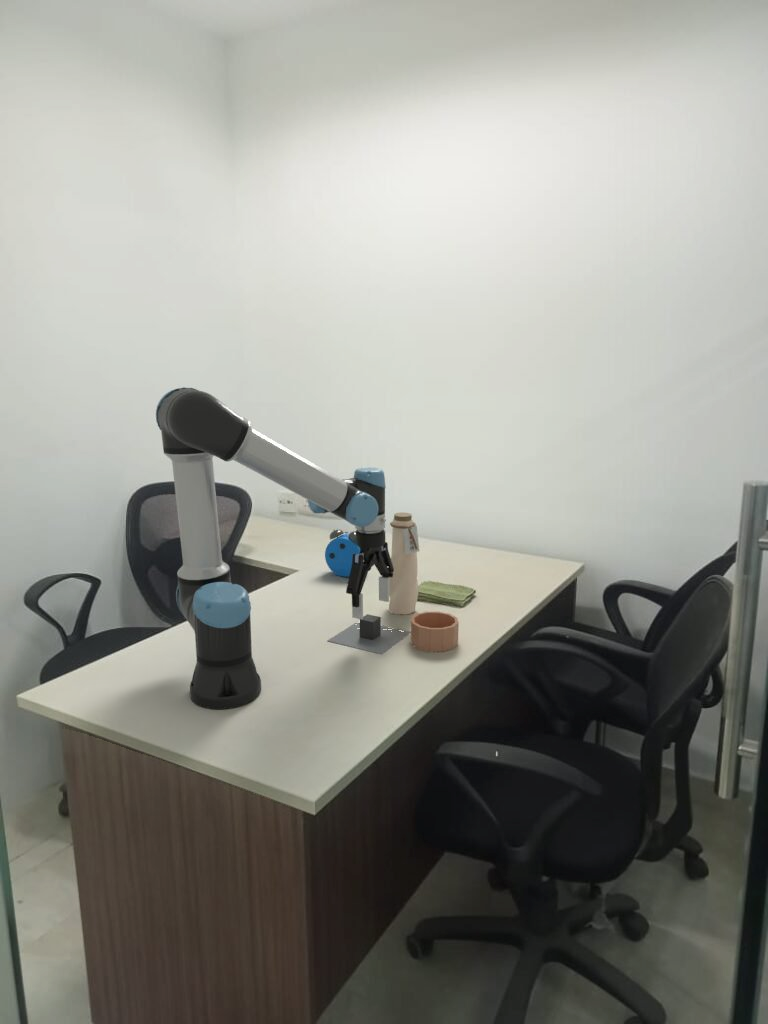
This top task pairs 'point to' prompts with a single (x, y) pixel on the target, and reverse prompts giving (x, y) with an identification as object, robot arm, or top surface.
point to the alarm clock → (341, 552)
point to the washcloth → (444, 593)
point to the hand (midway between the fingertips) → (371, 609)
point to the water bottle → (403, 565)
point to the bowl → (434, 631)
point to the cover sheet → (369, 644)
